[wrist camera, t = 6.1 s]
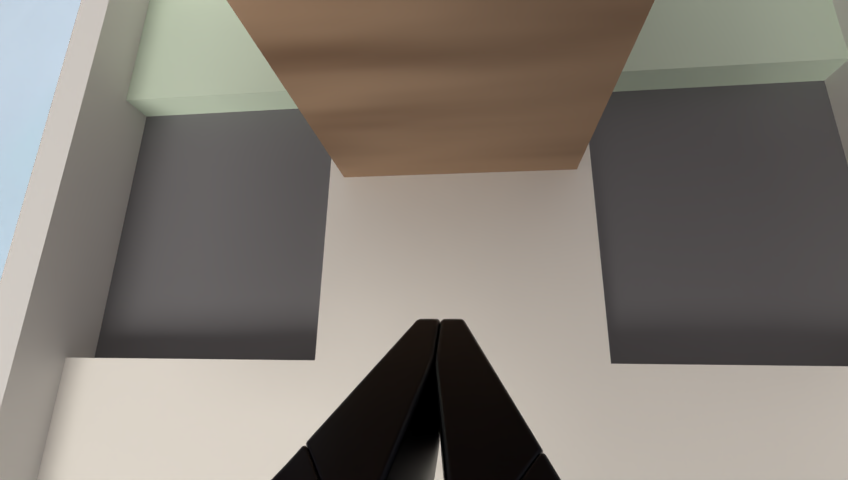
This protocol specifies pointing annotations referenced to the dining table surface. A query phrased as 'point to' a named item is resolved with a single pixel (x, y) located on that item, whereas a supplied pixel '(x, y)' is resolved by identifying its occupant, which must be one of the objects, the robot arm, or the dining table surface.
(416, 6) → the walnut block
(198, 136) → the white recessed tray
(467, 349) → the robot arm
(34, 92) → the dining table surface
